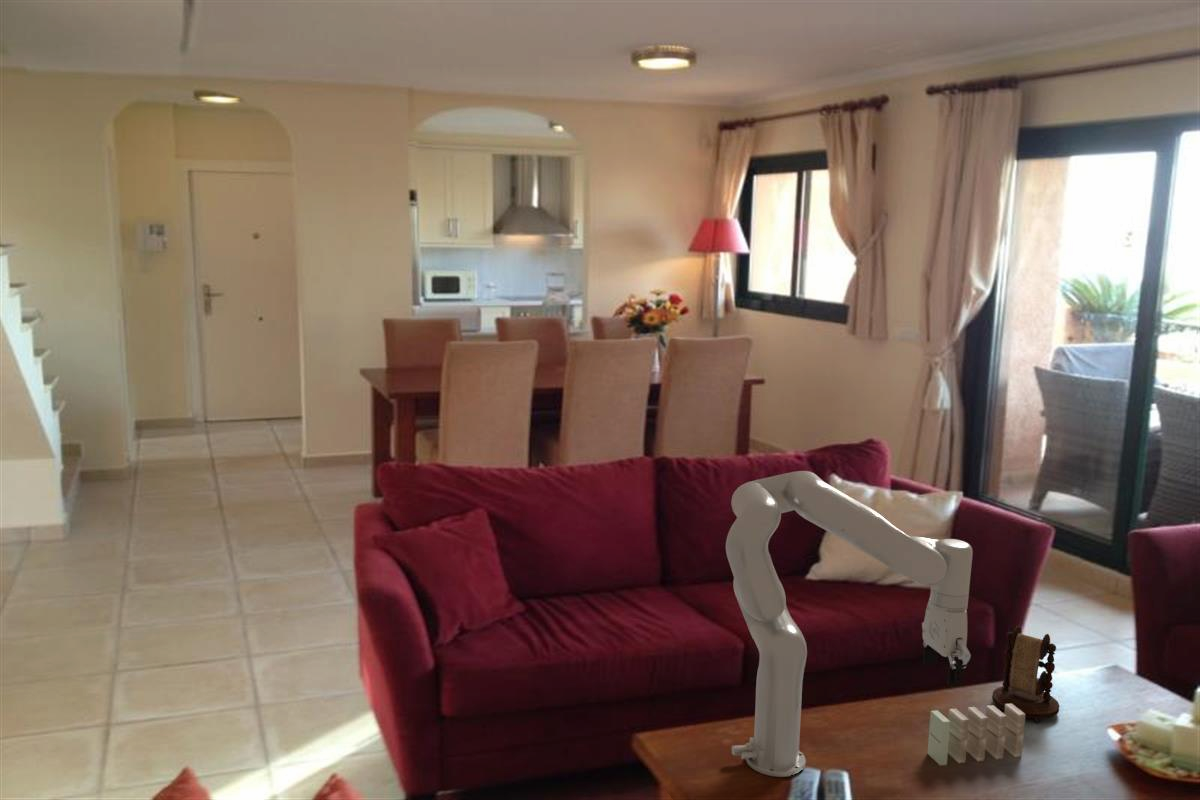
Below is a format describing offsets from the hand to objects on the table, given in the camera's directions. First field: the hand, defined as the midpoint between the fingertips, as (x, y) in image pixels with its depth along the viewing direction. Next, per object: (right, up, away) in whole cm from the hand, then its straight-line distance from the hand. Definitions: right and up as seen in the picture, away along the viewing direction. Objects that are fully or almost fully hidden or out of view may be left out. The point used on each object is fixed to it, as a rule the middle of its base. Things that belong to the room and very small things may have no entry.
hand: (942, 674), depth 211 cm
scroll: (+29, -16, +26) cm, 42 cm away
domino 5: (+18, -19, +7) cm, 27 cm away
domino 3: (+9, -19, +5) cm, 22 cm away
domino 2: (+4, -19, +4) cm, 20 cm away
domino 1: (0, -19, +3) cm, 19 cm away
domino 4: (+13, -19, +6) cm, 24 cm away
